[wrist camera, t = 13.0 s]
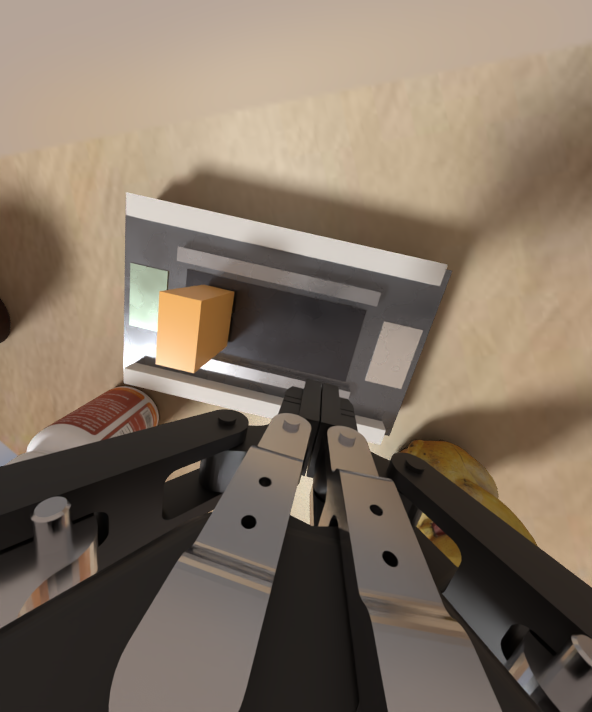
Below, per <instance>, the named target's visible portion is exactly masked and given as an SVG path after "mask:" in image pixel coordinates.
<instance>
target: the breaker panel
mask: <svg viewBox="0 0 592 712" xmlns="http://www.w3.org/2000/svg"><path fill="white" fill-rule="evenodd" d="M451 273H452V271H451V270H446V271H445V274H444V276H443V279H442V282H441V285H440V286H437V285H431V284H426V283H422V282H418V281H413V280H409V279H404V278H400V277H396V276H391V275H387V274H382V273H378V272H374V271H369V270H365V269H360V268H356V267H352V266H347V265H343V264H338V263H334V262H330V261H325V260H321V259H316V258H312V257H308V256H303V255H299V254H294V253H290V252H285V251H281V250H277V249H272V248H268V247H263V246H259V245H255V244H250V243H246V242H241V241H237V240H233V239H228V238H224V237H219V236H215V235H211V234H206V233H202V232H197V231H193V230H189V229H184V228H180V227H175V226H171V225H167V224H162V223H158V222H153V221H149V220H144V219H140V218H136V217H132V216H129V215H126V227H125V302H124V368H125V367H127V366H129V365H131V364H133V363H139V364H143V365H148V366H152V367H156V368H160V369H164V370H169V371H173V372H177V373H181V374H185V375H190V376H194V377H198V378H202V379H206V380H210V381H215V382H219V383H223V384H227V385H231V386H236V387H240V388H244V389H248V390H252V391H257V392H261V393H265V394H269V395H273V396H278V397H282V398H284V396H285V393H286V390H287V389H289V388H290V387H292V386H295V387H299V388H303V389H304V386H305V382H306V379H310V380H314V381H319V382H322V383H327V384H331V385H336V386H338V388H339V397H342V398H346V399H348V400H349V401H350V402H351V403H352V405H353V407H354V413H355V415H357V416H361V417H366V418H370V419H374V420H378V421H382V422H383V425H384V427H385V430H386V432H385V434H384V435H388V436H389V435H390V433H391V430H392V428H393V425H394V422H395V420H396V417H397V414H398V412H399V409H400V407H401V404H402V401H403V399H404V396H405V393H406V391H407V388H408V386H409V383H410V380H411V378H412V375H413V373H414V370H415V367H416V365H417V362H418V359H419V357H420V354H421V352H422V349H423V346H424V344H425V341H426V338H427V336H428V333H429V331H430V328H431V325H432V323H433V320H434V317H435V315H436V312H437V310H438V307H439V304H440V302H441V299H442V297H443V294H444V291H445V289H446V286H447V283H448V281H449V278H450V276H451ZM198 285H208V286H212V287H216V288H221V289H225V290H229V291H234V299H233V306H232V313H231V321H230V328H229V335H228V342H227V347H225V348H224V349H223V350H222V351H220V352H219V353H218V354H217V355H216V356H214V357H213V358H212V359H211V360H210V361H208V362H207V363H206V364H205V365H203V366H202V367H201V368H200V369H199V370H197V371H196V372H195V373H191V372H187V371H182V370H178V369H174V368H170V367H166V366H161V365H157V364H156V347H157V328H158V309H159V291H164V290H171V289H177V288H184V287H191V286H198ZM321 386H322V384H321Z"/></svg>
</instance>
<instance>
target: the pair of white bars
mask: <svg viewBox="0 0 592 712" xmlns="http://www.w3.org/2000/svg"><path fill="white" fill-rule="evenodd" d="M126 215H129V216H132V217H136V218H140V219H144V220H149V221H153V222H158V223H162V224H167V225H171V226H175V227H180V228H184V229H189V230H193V231H197V232H202V233H206V234H211V235H215V236H219V237H224V238H228V239H233V240H237V241H241V242H246V243H250V244H255V245H259V246H263V247H268V248H272V249H277V250H281V251H285V252H290V253H294V254H299V255H303V256H308V257H312V258H316V259H321V260H325V261H330V262H334V263H338V264H343V265H347V266H352V267H356V268H360V269H365V270H369V271H374V272H378V273H382V274H387V275H391V276H396V277H400V278H404V279H409V280H413V281H418V282H422V283H426V284H431V285H437V286H440V285H441V282H442V279H443V276H444V274H445V271H446V268H447V266H448V265H447V264H443V263H439V262H434V261H430V260H425V259H421V258H416V257H412V256H407V255H403V254H399V253H394V252H390V251H385V250H381V249H376V248H372V247H367V246H363V245H359V244H354V243H350V242H345V241H341V240H336V239H332V238H327V237H323V236H319V235H314V234H310V233H305V232H301V231H296V230H292V229H288V228H283V227H279V226H274V225H270V224H265V223H261V222H256V221H252V220H248V219H243V218H239V217H234V216H230V215H225V214H221V213H216V212H212V211H208V210H203V209H199V208H194V207H190V206H185V205H181V204H176V203H172V202H168V201H163V200H159V199H154V198H150V197H145V196H141V195H136V194H132V193H128V192H126ZM124 383H125V384H129V385H133V386H137V387H141V388H146V389H150V390H154V391H158V392H162V393H166V394H171V395H175V396H179V397H183V398H187V399H191V400H196V401H200V402H204V403H208V404H212V405H216V406H221V407H225V408H229V409H233V410H237V411H241V412H245V413H250V414H254V415H258V416H262V417H266V418H270V419H272V418H273V417H274V416H275V415H277V414H278V413H279V410H280V407H281V404H282V401H283V399H284V398H282V397H278V396H273V395H269V394H265V393H261V392H257V391H252V390H248V389H244V388H240V387H236V386H231V385H227V384H223V383H219V382H215V381H210V380H206V379H202V378H198V377H194V376H190V375H185V374H181V373H177V372H173V371H169V370H164V369H160V368H156V367H152V366H148V365H143V364H139V363H133V364H131V365H129V366H127V367H125V368H124ZM355 418H356V424H357V429H358V432H359V433H360V434H362V435H363V436H364V437H365V439H366V441H367V442H370V443H374V444H379V445H381V442H382V440H383V437H384V434H385V432H386V430H385V427H384V425H383V422H382V421H378V420H374V419H370V418H366V417H361V416H357V415H355Z"/></svg>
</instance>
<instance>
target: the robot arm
mask: <svg viewBox="0 0 592 712" xmlns="http://www.w3.org/2000/svg"><path fill="white" fill-rule="evenodd" d="M321 384H322V386H321ZM248 424H249V422H248V419H247V417H246V416H245V415H243V414H242V413H240V412H237V411H234V410H227V409H223V410H216V411H212V412H208V413H204V414H201V415H197V416H193V417H189V418H185V419H181V420H178V421H174V422H170V423H166V424H162V425H158V426H155V427H151V428H147V429H143V430H139V431H135V432H132V433H128V434H124V435H120V436H116V437H112V438H108V439H105V440H101V441H97V442H93V443H89V444H85V445H82V446H78V447H74V448H70V449H66V450H62V451H59V452H55V453H51V454H47V455H43V456H39V457H36V458H32V459H28V460H24V461H20V462H16V463H13V464H9V465H5V466H1V467H0V712H592V588H591V587H590V586H589V585H588V584H586V583H585V582H584V581H582V580H581V579H580V578H578V577H577V576H576V575H574V574H573V573H572V572H570V571H569V570H568V569H566V568H565V567H564V566H563V565H561V564H560V563H559V562H557V561H556V560H555V559H553V558H552V557H551V556H549V555H548V554H547V553H545V552H544V551H543V550H541V549H540V548H539V547H537V546H536V545H535V544H534V543H532V542H531V541H530V540H528V539H527V538H526V537H524V536H523V535H522V534H520V533H519V532H518V531H516V530H515V529H514V528H512V527H511V526H510V525H509V524H507V523H506V522H505V521H503V520H502V519H501V518H499V517H498V516H497V515H495V514H494V513H493V512H491V511H490V510H489V509H487V508H486V507H485V506H483V505H482V504H481V503H480V502H478V501H477V500H476V499H474V498H473V497H472V496H470V495H469V494H468V493H466V492H465V491H464V490H462V489H461V488H460V487H458V486H457V485H456V484H455V483H453V482H452V481H451V480H449V479H448V478H447V477H445V476H444V475H443V474H441V473H440V472H439V471H437V470H436V469H435V468H433V467H432V466H431V465H429V464H428V463H427V462H425V461H424V460H422V459H421V458H419V457H417V456H415V455H412V454H409V453H403V452H399V453H395V454H393V456H392V458H391V460H390V461H389V460H387V459H385V458H383V457H380V456H378V455H376V454H374V453H373V452H371V451H370V449H369V446H368V443H367V441H366V439H365V437H364V436H363V435H362V434H360V433H359V432H358V429H357V424H356V418H355V413H354V407H353V405H352V403H351V402H350V401H349V400H348V399H346V398H342V397H339V388H338V386H336V385H331V384H327V383H322V382H319V381H314V380H310V379H306V382H305V386H304V389H303V388H299V387H295V386H292V387H290V388H289V389H287V390H286V393H285V396H284V399H283V401H282V404H281V407H280V410H279V413H278V414H277V415H275V416H274V417H273V418H272V420H271V422H270V424H268V425H264V426H248ZM200 460H201V463H200V468H199V469H197V470H194V471H192V472H189V473H187V474H184V475H182V476H180V477H177V478H175V479H172V480H170V481H167V482H165V481H166V479H167V477H168V476H169V475H170V474H171V473H173V472H174V471H176V470H177V469H180V468H182V467H185V466H188V465H190V464H193V463H195V462H198V461H200ZM307 466H308V467H307ZM306 469H307V477H311V478H313V485H312V488H311V492H310V525H309V524H307V523H305V522H303V521H301V520H299V519H297V518H295V517H293V516H291V515H290V512H291V508H292V504H293V500H294V496H295V492H296V488H297V485H298V484H299V482H300V478H301V475H303V476H305V473H306ZM213 509H214V510H213ZM212 510H213V512H210V511H212ZM208 512H210V513H208ZM422 513H424V514H425V515H426V516H427V517H428V518H429V519H430V520H431V521H433V522H434V523H435V524H436V525H437V526H438V527H439V528H440V529H441V530H442V531H443V532H444V533H445V534H446V535H448V536H449V537H450V538H451V539H452V540H453V541H454V542H455V544H456V545H457V547H458V548H459V550H460V553H461V563H460V565H459V567H457V566H456V565H455V564H454V563H453V562H452V561H451V560H450V559H449V558H448V557H447V556H446V555H445V554H443V553H442V552H441V551H440V550H439V549H438V548H437V547H436V546H435V545H434V544H433V543H432V542H431V541H430V540H429V539H428V538H427V537H426V536H425V535H424V534H423V533H422V532H421V531H420V530H419V529H418V528H417V527H416V526H417V524H418V522H419V519H420V517H421V515H422Z"/></svg>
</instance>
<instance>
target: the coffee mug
mask: <svg viewBox="0 0 592 712" xmlns="http://www.w3.org/2000/svg"><path fill="white" fill-rule="evenodd" d="M10 328H11V327H10V317H9V314H8V311H7V309H6V307H5V305H4V303H3V302H2V301H1V299H0V343H1V342H3V341H4V340H5V339H6V338H7V337H8V335H9V332H10Z"/></svg>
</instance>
